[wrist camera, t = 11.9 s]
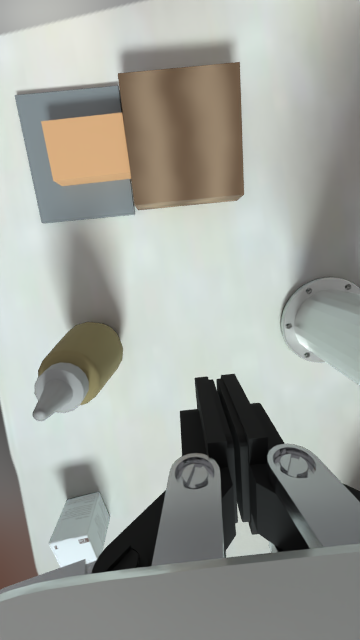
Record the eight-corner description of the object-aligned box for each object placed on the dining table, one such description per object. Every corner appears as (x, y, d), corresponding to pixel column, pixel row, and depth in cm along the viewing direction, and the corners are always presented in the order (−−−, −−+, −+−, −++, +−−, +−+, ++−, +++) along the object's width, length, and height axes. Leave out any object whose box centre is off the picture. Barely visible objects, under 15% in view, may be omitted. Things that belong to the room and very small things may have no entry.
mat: (118, 88, 31) (117, 85, 30) (134, 214, 34) (134, 213, 34) (17, 98, 31) (14, 95, 30) (43, 223, 34) (41, 222, 34)
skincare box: (78, 524, 46) (61, 573, 39) (66, 498, 45) (46, 544, 38) (111, 517, 46) (100, 564, 39) (100, 490, 45) (86, 535, 38)
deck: (232, 83, 31) (239, 62, 28) (236, 200, 34) (243, 194, 31) (123, 93, 31) (117, 73, 28) (138, 210, 34) (134, 205, 31)
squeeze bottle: (109, 305, 37) (53, 350, 20) (137, 352, 39) (110, 431, 21) (61, 331, 38) (-34, 397, 20) (91, 376, 40) (28, 471, 22)
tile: (125, 123, 31) (122, 112, 29) (133, 178, 33) (130, 172, 30) (51, 131, 31) (41, 121, 29) (62, 186, 33) (53, 180, 30)
